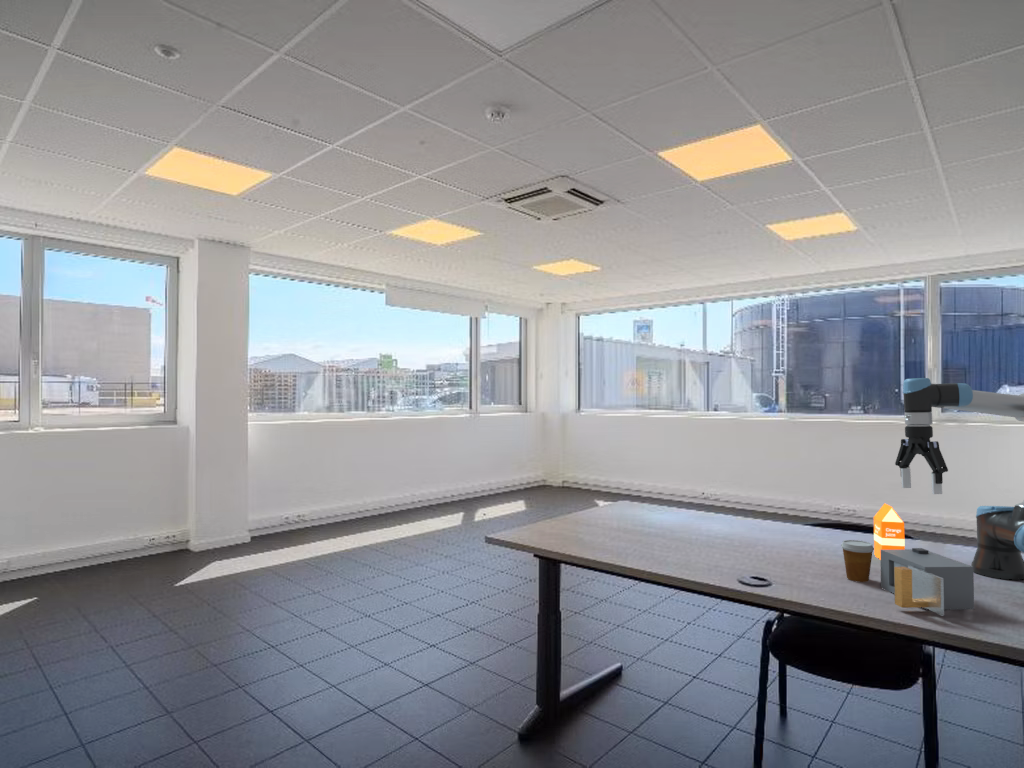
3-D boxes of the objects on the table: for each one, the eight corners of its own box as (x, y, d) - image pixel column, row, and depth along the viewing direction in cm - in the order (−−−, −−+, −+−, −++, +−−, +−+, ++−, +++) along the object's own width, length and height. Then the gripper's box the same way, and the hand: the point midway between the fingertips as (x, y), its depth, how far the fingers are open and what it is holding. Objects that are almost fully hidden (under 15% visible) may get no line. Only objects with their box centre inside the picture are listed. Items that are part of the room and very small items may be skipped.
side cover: (911, 599, 178) (910, 561, 178) (944, 615, 165) (943, 574, 165) (883, 600, 177) (883, 562, 178) (914, 615, 164) (913, 574, 165)
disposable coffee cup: (837, 579, 201) (836, 542, 201) (846, 573, 208) (846, 538, 208) (869, 585, 194) (869, 547, 194) (878, 579, 201) (877, 543, 201)
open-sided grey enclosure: (924, 587, 192) (923, 546, 193) (974, 609, 172) (973, 563, 173) (880, 587, 192) (880, 546, 192) (925, 609, 172) (924, 563, 172)
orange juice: (896, 556, 230) (895, 503, 230) (905, 562, 221) (904, 507, 222) (873, 555, 232) (872, 502, 232) (881, 561, 223) (880, 506, 224)
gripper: (881, 424, 210) (884, 485, 210) (936, 427, 185) (939, 497, 185) (902, 423, 211) (905, 485, 210) (959, 426, 186) (963, 496, 185)
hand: (921, 490), depth 198 cm, fingers open, 13 cm apart
